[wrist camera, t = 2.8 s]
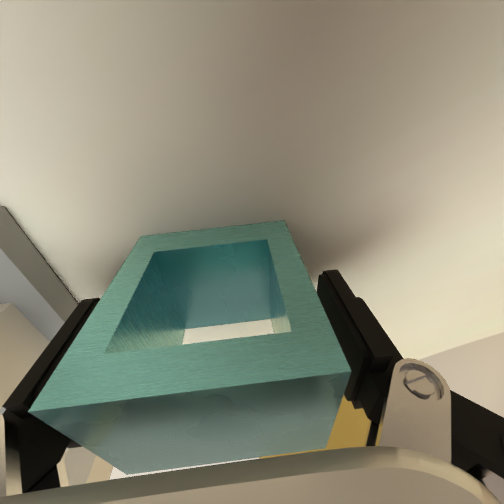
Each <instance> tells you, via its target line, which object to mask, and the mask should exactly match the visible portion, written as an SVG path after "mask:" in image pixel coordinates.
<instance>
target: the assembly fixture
mask: <svg viewBox="0 0 504 504" xmlns="http://www.w3.org/2000/svg"><path fill="white" fill-rule="evenodd" d="M77 305H78V303H77V302H76V301H75V299H74V298H73V297H72V296H71V294H70V293H69V292H68V290H67V289H66V288H65V286H64V285H63V284H62V282H61V281H60V280H59V278H58V277H57V276H56V274H55V273H54V272H53V271H52V269H51V268H50V267H49V265H48V264H47V263H46V261H45V260H44V259H43V257H42V256H41V255H40V253H39V252H38V251H37V249H36V248H35V247H34V246H33V244H32V243H31V242H30V240H29V239H28V238H27V236H26V235H25V234H24V232H23V231H22V230H21V228H20V227H19V226H18V224H17V223H16V222H15V221H14V219H13V218H12V217H11V215H10V214H9V213H8V211H7V210H6V209H5V207H0V414H1V415H2V414H3V413H4V412H5V410H6V409H5V408H4V407H2V406H3V404H4V403H5V402H6V400H7V399H8V398H9V396H10V395H11V394H12V392H13V391H14V390H15V388H16V387H17V386H18V384H19V383H20V382H21V380H22V379H23V378H24V376H25V375H26V374H27V372H28V371H29V370H30V368H31V367H32V366H33V364H34V363H35V362H36V360H37V359H38V358H39V356H40V355H41V354H42V352H43V351H44V350H45V348H46V347H47V346H48V344H49V343H50V342H51V340H52V339H53V338H54V336H55V335H56V333H57V332H58V331H59V329H60V328H61V327H62V325H63V324H64V323H65V321H66V320H67V319H68V317H69V316H70V315H71V313H72V312H73V311H74V309H75V308H76V307H77ZM63 458H64V463H65V468H66V473H67V477H68V482H69V486H72V485H79V484H86V483H93V482H99V481H106V480H109V478H110V475H111V472H112V469H113V465H111V464H109V463H108V462H106V461H105V460H103V459H102V458H100V457H98V456H97V455H95V454H94V453H92V452H91V451H89V450H87V449H86V448H84V447H76V448H66V450H65V453H64V455H63Z"/></svg>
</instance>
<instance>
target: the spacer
mask: <svg viewBox="0 0 504 504" xmlns="http://www.w3.org/2000/svg"><path fill="white" fill-rule="evenodd" d="M265 319H271V321H272V327H273V332H274V334H268V335H259V336H251V337H243V338H234V339H226V340H218V341H210V342H201V343H193V344H185V345H182V342H183V337H184V332H185V329H189V328H198V327H206V326H214V325H223V324H231V323H240V322H248V321H257V320H265ZM350 374H351V369H350V367H349V365H348V362H347V360H346V358H345V356H344V353H343V351H342V349H341V347H340V344H339V342H338V340H337V338H336V335H335V333H334V331H333V329H332V326H331V324H330V322H329V320H328V317H327V315H326V313H325V311H324V308H323V306H322V304H321V302H320V299H319V297H318V295H317V293H316V290H315V288H314V286H313V284H312V281H311V279H310V277H309V275H308V272H307V270H306V268H305V266H304V264H303V261H302V259H301V257H300V255H299V252H298V250H297V248H296V246H295V243H294V241H293V239H292V237H291V234H290V232H289V230H288V228H287V225H286V223H285V221H275V222H266V223H257V224H248V225H239V226H230V227H221V228H212V229H203V230H194V231H185V232H175V233H166V234H157V235H148V236H141V237H140V239H139V240H138V242H137V243H136V245H135V246H134V248H133V250H132V251H131V253H130V254H129V256H128V257H127V259H126V260H125V262H124V264H123V265H122V267H121V268H120V270H119V271H118V273H117V274H116V276H115V278H114V279H113V281H112V282H111V284H110V285H109V287H108V288H107V290H106V291H105V293H104V295H103V296H102V298H101V299H100V301H99V302H98V304H97V305H96V307H95V309H94V310H93V312H92V313H91V315H90V316H89V318H88V319H87V321H86V323H85V324H84V326H83V327H82V329H81V330H80V332H79V333H78V335H77V336H76V338H75V340H74V341H73V343H72V344H71V346H70V347H69V349H68V350H67V352H66V354H65V355H64V357H63V358H62V360H61V361H60V363H59V364H58V366H57V368H56V369H55V371H54V372H53V374H52V375H51V377H50V378H49V380H48V381H47V383H46V385H45V386H44V388H43V389H42V391H41V392H40V394H39V395H38V397H37V399H36V400H35V402H34V403H33V405H32V406H31V408H30V409H29V411H28V412H29V413H31V414H32V415H34V416H35V417H37V418H39V419H40V420H42V421H43V422H45V423H47V424H48V425H50V426H51V427H53V428H54V429H56V430H58V431H59V432H61V433H62V434H64V435H65V436H67V437H69V438H70V439H72V440H73V441H75V442H76V443H78V444H80V445H81V446H83V447H84V448H86V449H87V450H89V451H91V452H92V453H94V454H95V455H97V456H98V457H100V458H102V459H103V460H105V461H106V462H108V463H109V464H111V465H113V466H114V467H116V468H117V469H119V470H121V471H122V472H124V473H125V474H127V475H128V474H135V473H142V472H151V471H158V470H165V469H173V468H180V467H188V466H196V465H203V464H211V463H218V462H226V461H233V460H241V459H249V458H256V457H264V456H272V455H279V454H287V453H294V452H302V451H310V450H317V449H325V448H326V446H327V443H328V440H329V437H330V434H331V431H332V428H333V425H334V422H335V419H336V416H337V413H338V410H339V407H340V404H341V401H342V398H343V395H344V392H345V389H346V386H347V383H348V380H349V377H350Z"/></svg>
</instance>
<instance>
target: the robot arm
mask: <svg viewBox="0 0 504 504" xmlns="http://www.w3.org/2000/svg"><path fill="white" fill-rule="evenodd" d="M317 295H318V297H319V299H320V302H321V304H322V306H323V308H324V311H325V313H326V315H327V317H328V320H329V322H330V324H331V326H332V329H333V331H334V333H335V335H336V338H337V340H338V342H339V344H340V347H341V349H342V351H343V353H344V356H345V358H346V360H347V362H348V365H349V367H350V369H351V374H350V377H349V380H348V383H347V386H346V389H345V392H344V396H345V398H346V400H347V401H351V402H352V404H353V407H354V409H361V408H363V409H364V412H365V414H366V416H367V418H368V419H369V420H370V421H369V425H368V430H367V434H366V438H365V443H364V447H349V448H341V449H332V450H323V451H315V452H306V453H298V454H291V455H284V456H276V457H269V458H262V459H255V460H247V461H241V462H233V463H226V464H219V465H211V466H205V467H197V468H190V469H183V470H176V471H169V472H162V473H155V474H148V475H141V476H134V477H128V478H120V479H113V480H106V481H99V482H93V483H86V484H79V485H72V486H69V482H68V477H67V473H66V468H65V463H64V458H63V455H64V453H65V450H66V448H76V447H83V446H81V445H80V444H78V443H76V442H75V441H73V440H72V439H70V438H69V437H67V436H65V435H64V434H62V433H61V432H59V431H58V430H56V429H54V428H53V427H51V426H50V425H48V424H47V423H45V422H43V421H42V420H40V419H39V418H37V417H35V416H34V415H32V414H31V413H29V412H28V411H29V409H30V408H31V406H32V405H33V403H34V402H35V400H36V399H37V397H38V395H39V394H40V392H41V391H42V389H43V388H44V386H45V385H46V383H47V381H48V380H49V378H50V377H51V375H52V374H53V372H54V371H55V369H56V368H57V366H58V364H59V363H60V361H61V360H62V358H63V357H64V355H65V354H66V352H67V350H68V349H69V347H70V346H71V344H72V343H73V341H74V340H75V338H76V336H77V335H78V333H79V332H80V330H81V329H82V327H83V326H84V324H85V323H86V321H87V319H88V318H89V316H90V315H91V313H92V312H93V310H94V309H95V307H96V305H97V304H98V302H99V301H100V299H99V298H94V299H85V300H82V301H81V302H80V303H79V304H78V305H77V307H76V308H75V309H74V311H73V312H72V313H71V315H70V316H69V317H68V319H67V320H66V321H65V323H64V324H63V325H62V327H61V328H60V329H59V331H58V332H57V333H56V335H55V336H54V338H53V339H52V340H51V342H50V343H49V344H48V346H47V347H46V348H45V350H44V351H43V352H42V354H41V355H40V356H39V358H38V359H37V360H36V362H35V363H34V364H33V366H32V367H31V368H30V370H29V371H28V372H27V374H26V375H25V376H24V378H23V379H22V380H21V382H20V383H19V384H18V386H17V387H16V388H15V390H14V391H13V392H12V394H11V395H10V396H9V398H8V399H7V400H6V402H5V403H4V404H3V406H2V407H4V408H5V409H6V410H5V412H4V413H3V414H2V415H1V414H0V504H504V418H503V417H501V416H499V415H497V414H495V413H493V412H491V411H489V410H488V409H486V408H484V407H482V406H480V405H478V404H476V403H474V402H472V401H470V400H468V399H466V398H464V397H463V396H461V395H459V394H457V393H455V392H453V391H451V390H450V388H449V386H448V384H447V382H446V380H445V379H444V378H443V377H442V376H441V374H440V373H439V372H438V371H436V370H435V369H434V368H433V367H431V366H430V365H428V364H426V363H424V362H422V361H419V360H416V359H409V358H406V359H403V357H402V356H401V354H400V353H399V352H398V350H397V349H396V347H395V346H394V344H393V343H392V341H391V340H390V338H389V337H388V335H387V334H386V333H385V331H384V330H383V328H382V327H381V325H380V324H379V322H378V321H377V319H376V318H375V316H374V315H373V314H372V312H371V311H370V309H369V308H368V306H367V305H366V303H365V302H364V301H363V299H361V298H360V297H355V295H354V294H353V292H352V291H351V289H350V288H349V286H348V285H347V283H346V282H345V280H344V279H343V277H342V276H341V274H340V273H339V271H338V270H328V271H323V273H322V275H319V278H318V287H317Z"/></svg>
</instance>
